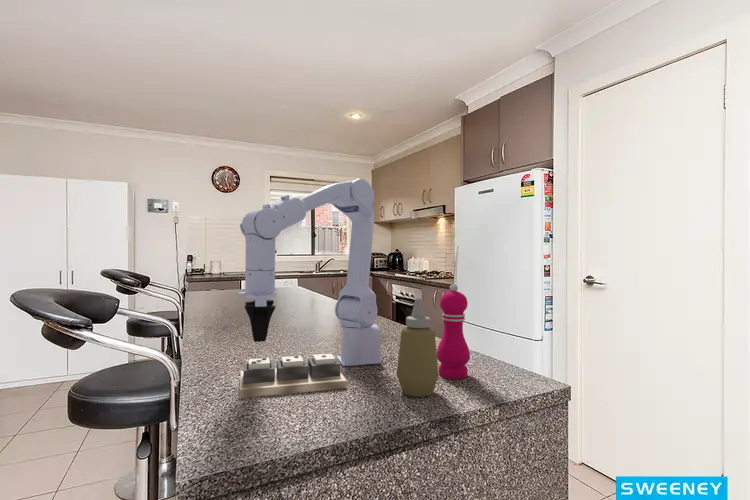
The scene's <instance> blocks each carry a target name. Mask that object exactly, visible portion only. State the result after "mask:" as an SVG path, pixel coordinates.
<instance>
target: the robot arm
mask: <svg viewBox="0 0 750 500" xmlns="http://www.w3.org/2000/svg"><path fill="white" fill-rule="evenodd" d="M280 199H281V200H278V201H276V202H274V203H271V204H270V203H265V204H263V205H262V209H257V210H252V211H249V212H247V213H246V214H245V215H244V217H243V218H242V221H241V223H240V224H239V228H240V231H241V233H242V235H243V236H244V239H245V259H244V260H245V261H244V262H245V264H244V265H245V266H244V267H245V271H244V272H245V273H244V277H245V278H244V282H245V283H244V291H241V292H240V291H239V292H238V297H244V298H247V299H250V301H245V304H244V309H245V311H246V313H247V316H248V317H249V320H250V325H251V333H252V339H253V342H255V343H259V342H262V343H263V342H266V340H267V336H268V331H269V326H270V321H271V318H272V315H273V313H274V311H275V310H276V305H274V304H275V301H274V299H271V298H275V297H276V296H277V292H276V238H277V237H279V235H280V234H281V232H282V231H284V230H286V229H288V228H290V227H293V226H294V225H296V224H297V223H300V222H302V221H304V220H305V219H306V216H307V212H309V211H313V210H315V209H317V208H320V207H321V206H324V205H327V204H328V205H332V206H333V207H334V208H336V209H337V210H338V211H339V212H340V213H342V214H343V215H345V216H346V217H347V218H348V219H349V220H350V222H351V231H350V243H349V254H348V264H347V274H346V275H347V276H346V284H345V286H343V288H342V289H340V291H339V293H338V299H337V301H336V304H335V306H334V314H335V317H336V318H337V320H339V325H340V326H341V327H340V329H341V330H340V335H341V336H340V355H336V359H337V360H338V361H339V362H340V364H341V365H342V366H343V367H351V366H352V367H353V366H363V365H364V366H365V365H377V364H382V361H381V356H382V355H381V354H382V353H381V346H382V345H381V344H382V343H381V340H382V339H381V338H382V336H381V329H380V327H379V325H378V324H374V322H375V321H376V319H377V318H378V311H379V309H378V306H377V294H376V293H375V292H374V291H373V290H372V288H370V286H369V285H370V274H371V273H370V272H371V262H372V248H373V238H374V229H375V211H374V200H375V190H374V189H373V187H372V186H371V184H370V183H369V182H368V180H366V179H364V178H357V179H354V180H350V181H344V182H335V183H333V184H329V185H324V186H323V187H320V188H319V189H317V190H314V191H312V192H310V193H308V194H307V195H305V196H302V197H298V196H295V195H289V194H286V195H283V196H280Z"/></svg>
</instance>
